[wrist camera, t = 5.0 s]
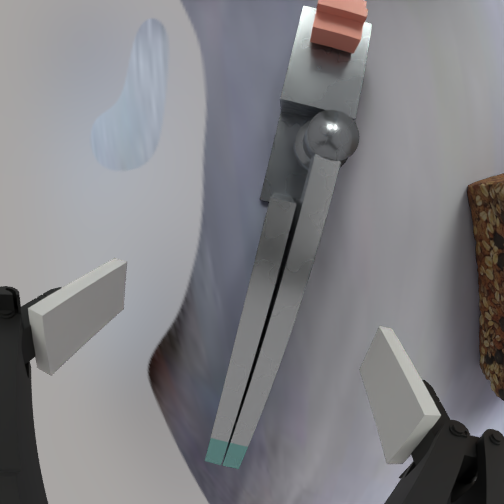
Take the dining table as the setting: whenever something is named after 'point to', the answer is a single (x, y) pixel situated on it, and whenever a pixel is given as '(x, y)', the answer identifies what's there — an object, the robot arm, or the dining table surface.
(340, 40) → the tab
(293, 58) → the base
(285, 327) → the jaw
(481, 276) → the bread
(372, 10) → the dining table surface
